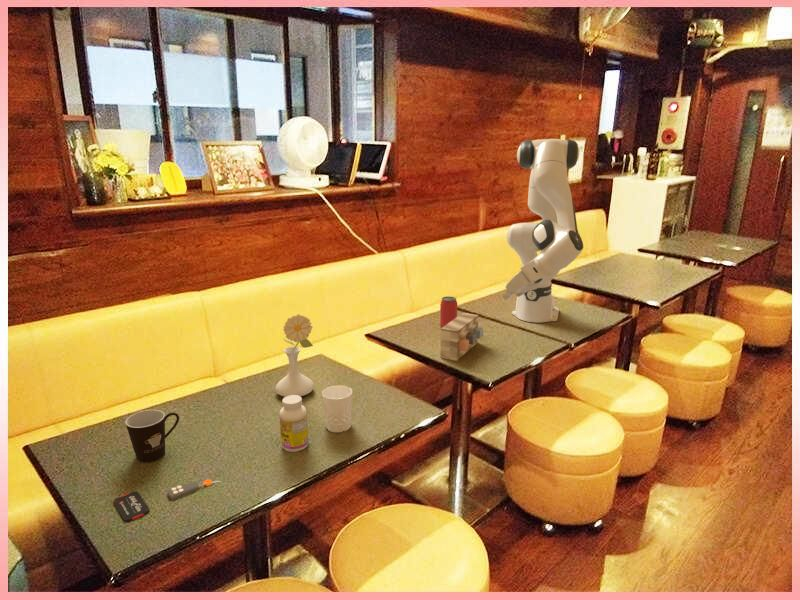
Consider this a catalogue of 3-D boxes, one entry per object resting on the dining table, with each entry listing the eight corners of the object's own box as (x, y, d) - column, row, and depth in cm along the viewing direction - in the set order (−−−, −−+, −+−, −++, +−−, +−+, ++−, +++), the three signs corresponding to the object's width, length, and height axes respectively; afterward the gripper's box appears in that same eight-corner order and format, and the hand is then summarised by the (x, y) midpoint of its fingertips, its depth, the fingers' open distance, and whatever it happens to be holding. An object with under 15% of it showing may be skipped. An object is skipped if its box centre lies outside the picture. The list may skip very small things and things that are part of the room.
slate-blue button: (475, 334, 203) (475, 326, 202) (482, 336, 201) (483, 328, 201) (471, 337, 200) (472, 329, 199) (479, 338, 199) (480, 330, 198)
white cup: (320, 422, 150) (318, 388, 147) (348, 416, 153) (346, 383, 150) (328, 436, 143) (326, 401, 140) (357, 430, 146) (356, 395, 143)
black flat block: (111, 499, 119) (136, 489, 122) (112, 502, 119) (136, 492, 122) (125, 522, 112) (151, 511, 115) (125, 525, 112) (151, 514, 116)
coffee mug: (131, 468, 130) (124, 430, 127) (131, 450, 138) (125, 413, 135) (184, 457, 135) (179, 420, 132) (182, 439, 142) (177, 404, 139)
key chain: (171, 503, 119) (170, 497, 119) (167, 494, 122) (166, 488, 122) (231, 481, 126) (230, 475, 126) (225, 473, 129) (225, 468, 129)
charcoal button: (468, 340, 197) (468, 332, 197) (476, 341, 196) (476, 333, 195) (464, 343, 195) (465, 335, 194) (472, 344, 194) (473, 336, 193)
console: (462, 339, 208) (463, 312, 205) (477, 342, 205) (478, 315, 202) (440, 357, 192) (440, 328, 189) (456, 360, 189) (457, 331, 186)
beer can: (457, 330, 217) (458, 301, 213) (440, 330, 217) (440, 301, 214) (456, 324, 223) (456, 296, 220) (439, 324, 223) (440, 296, 220)
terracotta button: (460, 346, 192) (460, 338, 191) (468, 348, 191) (469, 339, 190) (457, 349, 189) (457, 341, 189) (465, 351, 188) (465, 342, 187)
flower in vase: (267, 396, 165) (261, 316, 157) (290, 381, 175) (285, 304, 167) (304, 405, 159) (299, 322, 152) (326, 389, 169) (322, 310, 162)
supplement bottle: (278, 442, 141) (274, 396, 137) (303, 435, 144) (300, 390, 140) (286, 455, 135) (283, 408, 131) (312, 448, 138) (309, 401, 134)
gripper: (547, 261, 192) (519, 286, 199) (521, 265, 176) (491, 292, 183) (558, 276, 190) (529, 300, 198) (533, 281, 174) (502, 307, 182)
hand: (511, 296), depth 190 cm, fingers open, 8 cm apart
